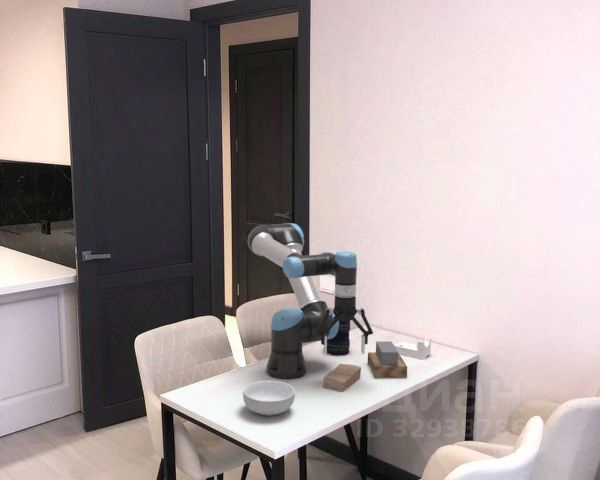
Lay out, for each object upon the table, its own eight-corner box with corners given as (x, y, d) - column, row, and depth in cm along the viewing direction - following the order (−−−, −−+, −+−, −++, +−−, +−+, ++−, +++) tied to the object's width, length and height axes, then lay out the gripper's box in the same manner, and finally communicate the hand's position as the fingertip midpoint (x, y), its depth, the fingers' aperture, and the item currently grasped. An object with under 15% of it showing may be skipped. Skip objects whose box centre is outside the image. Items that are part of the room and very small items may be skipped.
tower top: (381, 365, 243) (382, 352, 243) (375, 353, 256) (376, 341, 255) (397, 365, 244) (398, 352, 243) (390, 353, 257) (391, 341, 256)
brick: (343, 393, 229) (343, 380, 228) (321, 388, 233) (322, 375, 232) (361, 378, 244) (361, 366, 243) (340, 374, 247) (341, 362, 247)
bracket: (430, 356, 269) (431, 338, 268) (422, 360, 264) (423, 342, 262) (401, 349, 277) (402, 332, 276) (393, 353, 271) (394, 336, 270)
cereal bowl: (233, 407, 215) (233, 386, 214) (276, 396, 224) (276, 376, 223) (260, 426, 201) (260, 404, 200) (304, 414, 211) (305, 393, 210)
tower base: (374, 379, 243) (375, 366, 242) (367, 364, 258) (367, 352, 258) (406, 379, 243) (407, 366, 243) (397, 364, 259) (398, 352, 258)
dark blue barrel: (320, 352, 271) (321, 317, 269) (335, 346, 278) (336, 312, 276) (340, 357, 265) (341, 321, 262) (354, 351, 272) (355, 316, 270)
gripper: (310, 298, 228) (310, 356, 231) (382, 297, 230) (380, 356, 233) (309, 293, 236) (308, 350, 239) (378, 292, 237) (376, 349, 240)
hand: (344, 353), depth 236 cm, fingers open, 13 cm apart
